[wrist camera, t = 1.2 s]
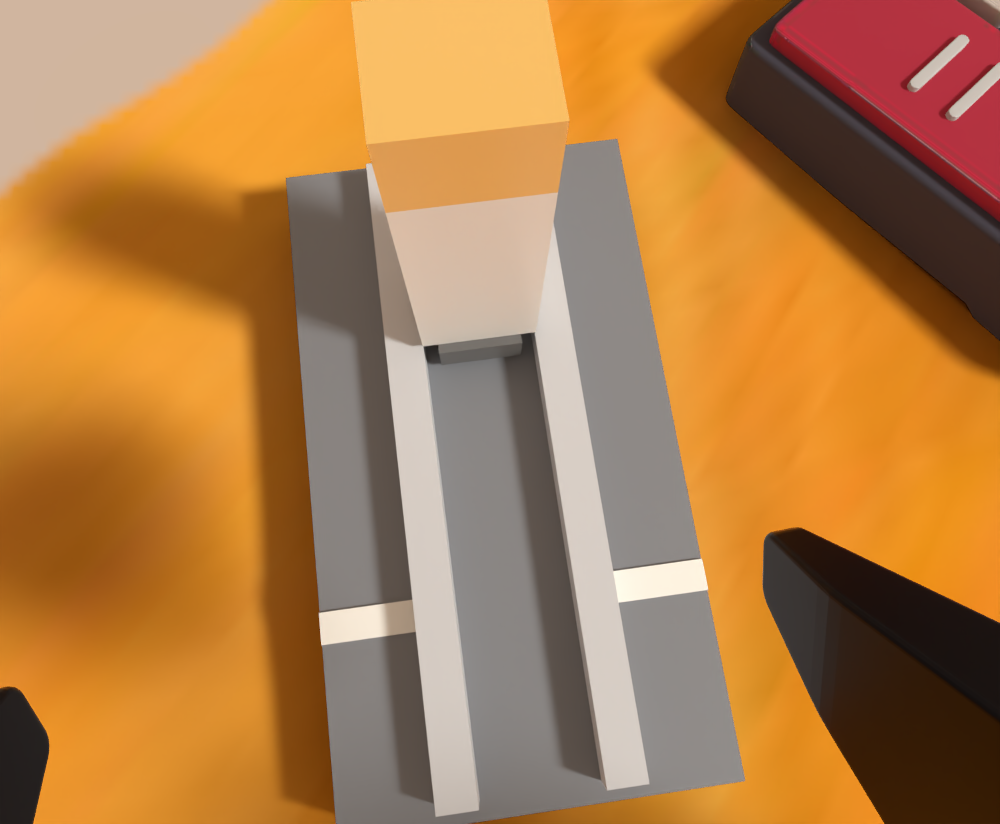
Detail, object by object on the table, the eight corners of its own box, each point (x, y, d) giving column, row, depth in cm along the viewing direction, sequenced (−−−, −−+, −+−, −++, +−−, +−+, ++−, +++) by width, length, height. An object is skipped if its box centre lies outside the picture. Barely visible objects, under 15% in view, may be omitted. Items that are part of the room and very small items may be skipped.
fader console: (721, 763, 20) (759, 790, 17) (352, 819, 20) (328, 858, 17) (607, 175, 25) (622, 118, 22) (302, 211, 24) (276, 158, 21)
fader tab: (535, 353, 21) (572, 135, 11) (427, 366, 21) (367, 159, 11) (519, 254, 21) (541, -33, 12) (415, 266, 21) (349, -12, 12)
